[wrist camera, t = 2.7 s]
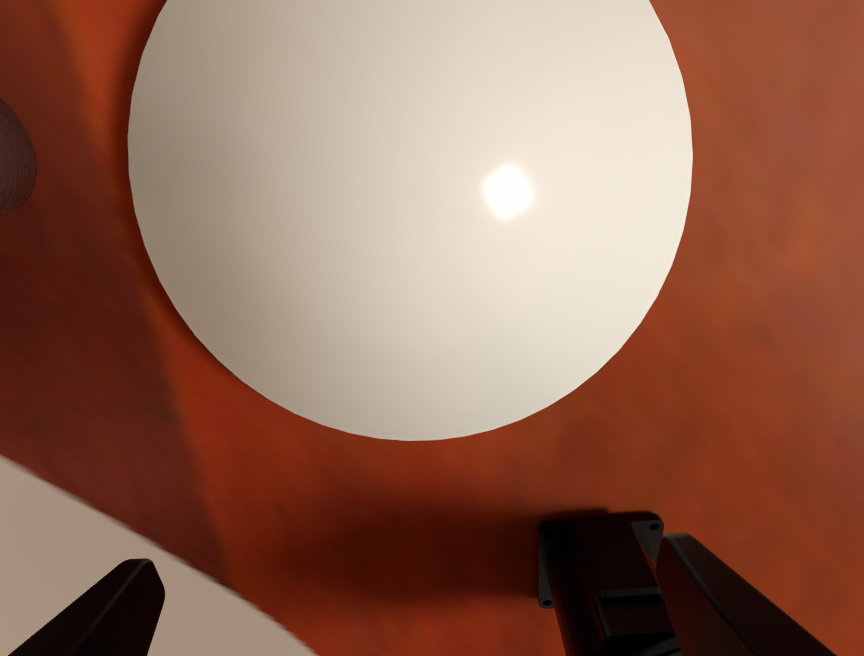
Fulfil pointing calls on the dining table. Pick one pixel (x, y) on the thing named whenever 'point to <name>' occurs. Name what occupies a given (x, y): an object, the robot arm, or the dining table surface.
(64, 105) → the dining table surface
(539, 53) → the plate
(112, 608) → the robot arm
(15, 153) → the pepper mill
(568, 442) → the dining table surface
